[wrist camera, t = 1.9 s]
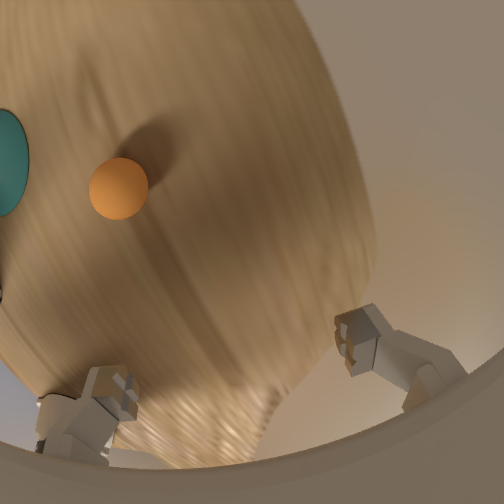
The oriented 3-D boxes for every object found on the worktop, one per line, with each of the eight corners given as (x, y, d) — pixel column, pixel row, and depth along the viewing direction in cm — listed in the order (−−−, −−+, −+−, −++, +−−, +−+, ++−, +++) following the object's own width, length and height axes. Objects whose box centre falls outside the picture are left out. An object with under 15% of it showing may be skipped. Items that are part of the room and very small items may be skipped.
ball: (148, 212, 26) (136, 234, 21) (99, 204, 25) (77, 223, 20) (158, 158, 24) (146, 168, 19) (105, 150, 22) (82, 158, 18)
